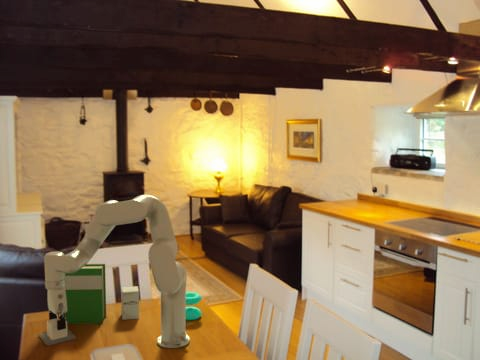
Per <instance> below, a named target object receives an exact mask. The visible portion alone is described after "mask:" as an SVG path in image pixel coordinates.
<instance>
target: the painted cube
mask: <svg viewBox="0 0 480 360" xmlns="http://www.w3.org/2000/svg"><path fill="white" fill-rule="evenodd" d="M57 320H58V318H56V319H51V320H49V319H48V320H46V333H47V335H48V336H49V337H50V339H51V340H55V339H59V338H63V337H67V329H68V324H67V321H66V329H62V330H57Z"/></svg>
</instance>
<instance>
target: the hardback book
mask: <svg viewBox="0 0 480 360" xmlns="http://www.w3.org/2000/svg"><path fill="white" fill-rule="evenodd" d="M65 277H66V287H65V291H66V298H67V310H68V311H67V312H66V313H65V315H66V316H65V317H66V321H67V325H81V324H82V325H83V324H86V325H88V324H89V325H90V324H92V325H93V324H103V323H104V319H105V318H107V294H106V293H107V291H106V290H107V289H106V263H87V264H86V265H85V266H83V267H82V268H81V269H80V270H78V271H77V272H75V273H72V274H68V273H65ZM59 312H61V311H59ZM60 315H61V314H59V316H60Z"/></svg>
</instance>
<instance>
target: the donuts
mask: <svg viewBox="0 0 480 360" xmlns="http://www.w3.org/2000/svg"><path fill="white" fill-rule="evenodd" d="M201 301H202V295H201V294H200V293H198V292H195V291H194V292H193V291H187V292H186V303H185V309H186V321H195V320H197V319H199V318H200V317H201V316H202V310H201V309H200V308H198V307H195V306H194V305H197V304H199V303H200V302H201Z"/></svg>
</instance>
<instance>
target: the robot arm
mask: <svg viewBox="0 0 480 360" xmlns="http://www.w3.org/2000/svg"><path fill="white" fill-rule="evenodd" d="M96 207H97V208H96V209H95V211H94V217H93V218H92V219H91V220H90V222H89V223H88V224H87V225H86V226H85V229H84V232H85V234H84V237H83V238H82V240H81V241H80V242H79V244H78V245H77V246H76V247H75V248H74V250H72V251H70V252H69V253H66V254H64V252H62V251H49V252H48V253H45V255H44V257H43V258H44V259H43V260H44V279H45V282H44V286H45V289H46V290H47V308H48V320H51V319H56V318H58V320H57V330H62V329H66V317H65V316H66V315H65V313H66V312H67V311H68V310H67V298H66V291H65V287H66V277H65V273H68V274H72V273H75V272H77V271H78V270H80V269H81V268H82V267H83V266H85V265H86V264H89V262H90V261H91V259H92V258H93V257H94V255H95V254H96V253H97V252H98V250H99V249H100V247H101V245H102V244H103V243H104V242H105V240H106V238H107V237H108V236H109V235H110V234H111V232H112V231H113V230H114V229H115V227H116V226H121V225H126V224H127V225H128V224H133V223H138V222H142V221H143V220H145V219H147V221H148V227H149V232H150V235H151V239H152V244H151V245H150V247H149V250H148V261H149V266H150V269H151V274H152V277H153V282H154V285H155V287H156V289H157V291H159V292H160V332H161V333H160V336H158V337H157V340H156V341H157V343H156V344H157V345H158V346H160V347H162V348H167V349H179V348H182V347H185V346H187V345H188V344H189V343H190V340H191V339H190V336H189V335H188V334H187V331H186V327H187V326H186V325H187V324H186V323H187V322H186V321H187V320H186V309H185V307H186V305H185V303H186V291H187V278H188V277H187V270H186V267H185V266H184V265H183V264H182V263H181V262H179V261H176V256H177V254H178V251H179V246H178V243H177V239H176V236H175V232H174V228H173V225H172V222H171V218H170V214H169V211H168V208H167V207H166V205H165V203H164V202H163V201H162V200H160V198H158V197H156V196H154V195H150V194H140V195H138V196H136V197H134V198H132V199H129V200H123V201H118V200H114V199H110V200H107V201H105V202H103V203H101V204H99V205H98V206H96ZM60 311H61V312H60ZM60 314H61V315H60Z"/></svg>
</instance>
